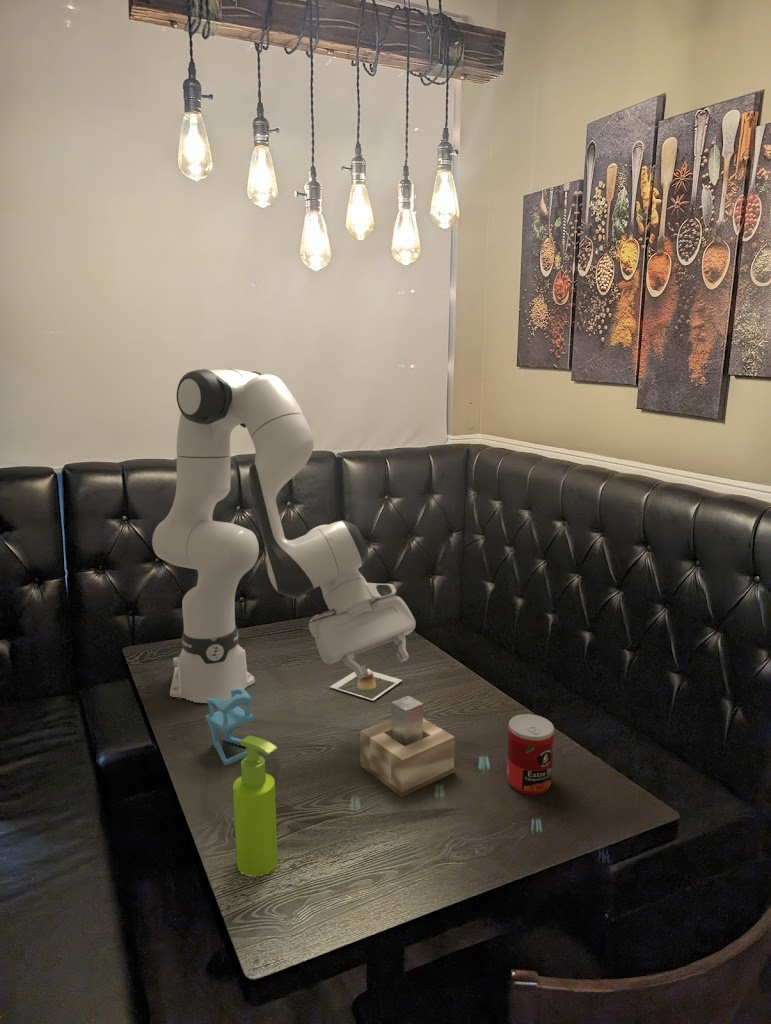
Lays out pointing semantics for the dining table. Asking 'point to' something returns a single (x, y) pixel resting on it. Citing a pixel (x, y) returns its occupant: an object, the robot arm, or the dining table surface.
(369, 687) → the dessert
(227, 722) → the chair
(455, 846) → the dining table surface
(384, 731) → the frame
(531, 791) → the canned food
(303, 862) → the dining table surface
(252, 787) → the soap dispenser
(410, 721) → the grey square peg
